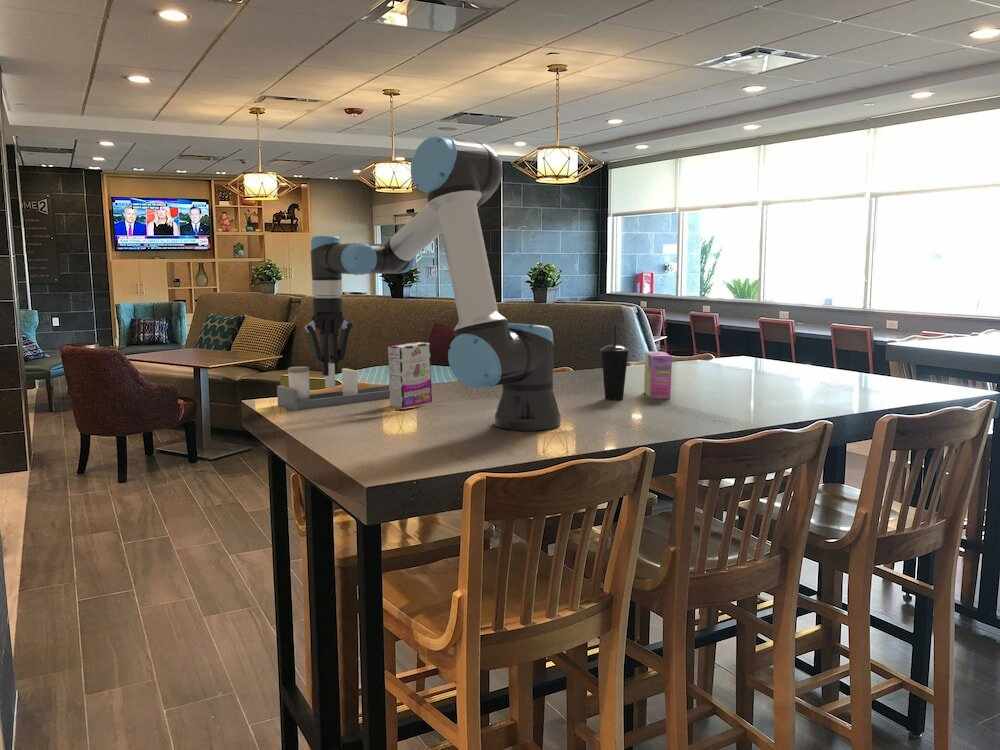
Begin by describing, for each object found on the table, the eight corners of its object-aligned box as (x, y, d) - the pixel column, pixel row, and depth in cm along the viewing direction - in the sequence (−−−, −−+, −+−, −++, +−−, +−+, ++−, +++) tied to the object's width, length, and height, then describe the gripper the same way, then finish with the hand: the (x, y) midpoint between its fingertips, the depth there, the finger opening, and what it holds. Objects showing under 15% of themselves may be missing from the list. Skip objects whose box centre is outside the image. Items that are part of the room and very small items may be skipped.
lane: (405, 400, 215) (405, 378, 214) (294, 414, 195) (293, 390, 195) (386, 395, 223) (386, 374, 222) (278, 409, 203) (277, 385, 202)
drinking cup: (627, 396, 218) (628, 324, 215) (629, 401, 211) (630, 326, 208) (599, 396, 219) (600, 324, 216) (600, 401, 212) (601, 326, 209)
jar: (313, 406, 201) (312, 368, 200) (294, 408, 198) (292, 369, 196) (305, 403, 205) (303, 366, 204) (286, 405, 202) (284, 367, 201)
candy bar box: (418, 403, 210) (417, 341, 208) (432, 405, 207) (431, 342, 205) (388, 409, 202) (386, 345, 199) (402, 411, 199) (401, 346, 196)
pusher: (366, 399, 209) (365, 369, 208) (354, 401, 207) (353, 371, 206) (354, 396, 215) (353, 367, 213) (342, 398, 212) (341, 368, 211)
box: (671, 399, 215) (672, 355, 213) (650, 399, 215) (650, 355, 213) (664, 392, 225) (665, 351, 223) (643, 392, 225) (644, 351, 223)
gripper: (343, 295, 210) (346, 383, 213) (297, 297, 202) (300, 388, 205) (357, 296, 204) (359, 387, 207) (310, 298, 196) (313, 392, 200)
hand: (330, 387), depth 206 cm, fingers closed
